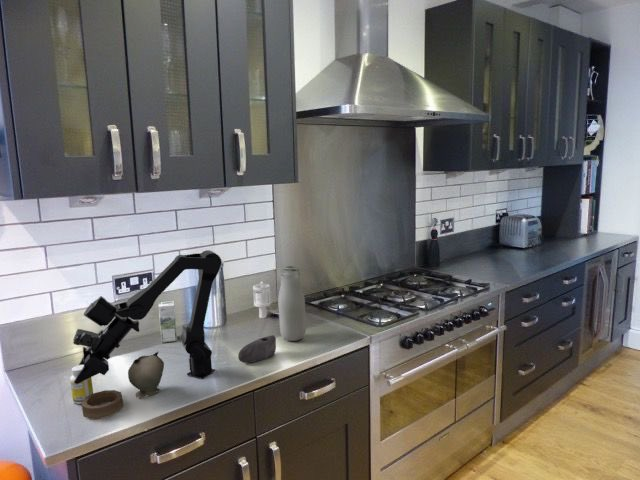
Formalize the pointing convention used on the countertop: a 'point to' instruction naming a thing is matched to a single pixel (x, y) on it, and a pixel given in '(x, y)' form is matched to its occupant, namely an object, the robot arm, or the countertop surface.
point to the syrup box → (167, 321)
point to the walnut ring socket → (103, 410)
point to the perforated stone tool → (258, 349)
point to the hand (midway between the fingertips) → (75, 379)
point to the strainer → (261, 298)
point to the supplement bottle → (80, 386)
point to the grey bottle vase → (291, 305)
